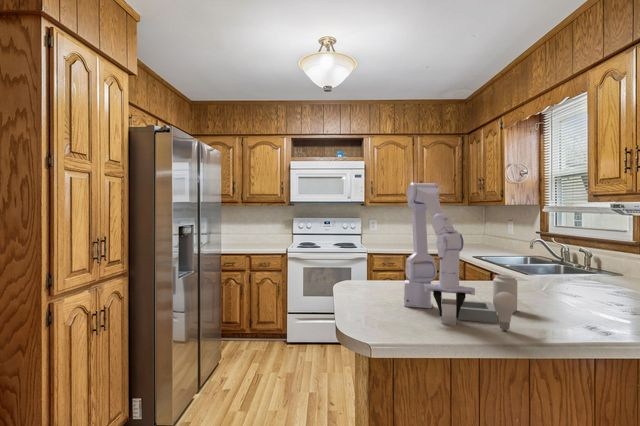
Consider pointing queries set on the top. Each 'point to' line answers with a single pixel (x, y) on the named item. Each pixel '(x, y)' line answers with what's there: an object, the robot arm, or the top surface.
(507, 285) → the can
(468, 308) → the well block
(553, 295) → the top surface
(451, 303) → the bracket
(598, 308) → the top surface
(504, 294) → the lightbulb
